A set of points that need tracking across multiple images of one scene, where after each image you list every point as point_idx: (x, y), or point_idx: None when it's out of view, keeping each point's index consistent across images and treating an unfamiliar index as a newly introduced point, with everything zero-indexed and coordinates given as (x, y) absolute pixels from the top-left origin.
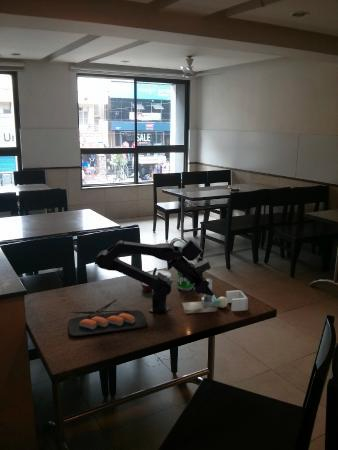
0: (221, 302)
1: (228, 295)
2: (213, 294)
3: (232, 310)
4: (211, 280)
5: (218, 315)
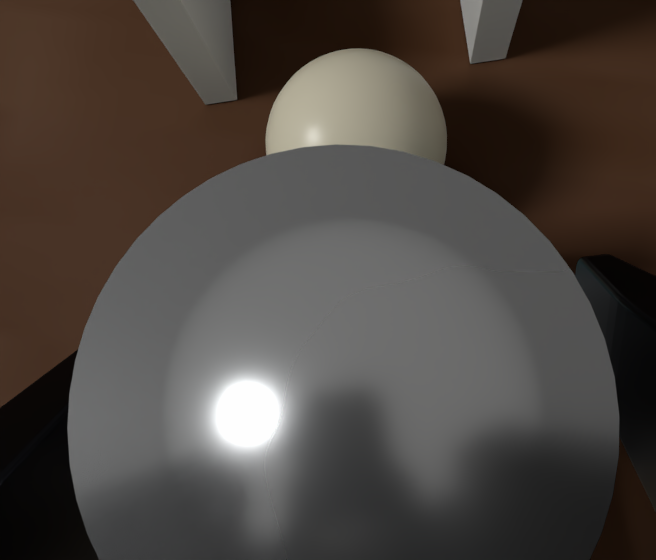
0: (438, 154)
1: (196, 7)
2: (608, 267)
3: (507, 48)
4: (450, 192)
5: (648, 264)
